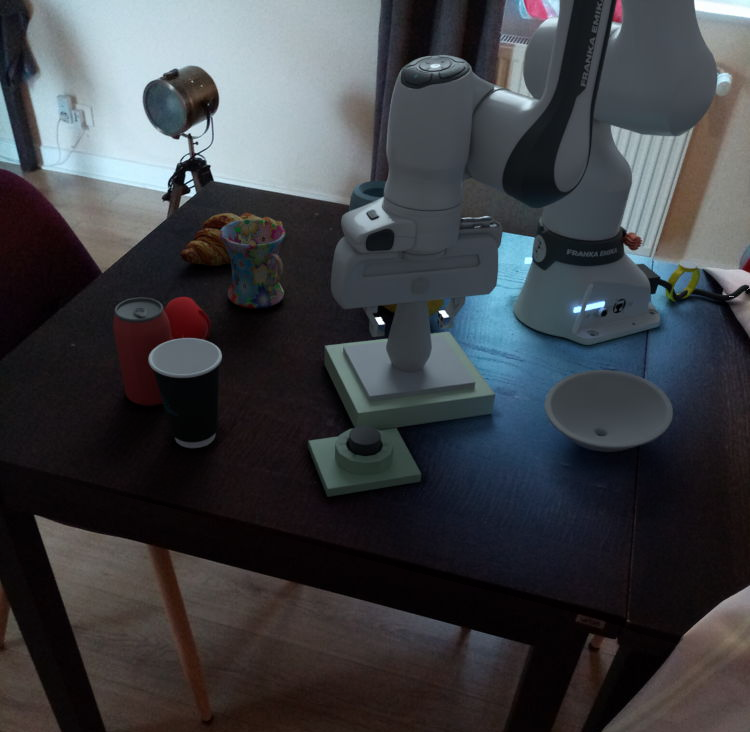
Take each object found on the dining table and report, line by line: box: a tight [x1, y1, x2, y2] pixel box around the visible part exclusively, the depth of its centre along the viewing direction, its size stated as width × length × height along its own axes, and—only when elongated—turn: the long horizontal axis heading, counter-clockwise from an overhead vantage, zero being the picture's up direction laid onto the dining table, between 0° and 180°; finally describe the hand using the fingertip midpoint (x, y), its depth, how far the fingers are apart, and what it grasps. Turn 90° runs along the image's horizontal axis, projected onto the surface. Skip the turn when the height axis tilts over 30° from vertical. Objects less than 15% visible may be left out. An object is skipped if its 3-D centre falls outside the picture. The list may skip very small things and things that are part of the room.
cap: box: [163, 296, 211, 341], centre depth 107 cm, size 8×6×6 cm
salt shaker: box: [386, 278, 432, 372], centre depth 96 cm, size 6×6×13 cm
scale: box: [324, 331, 496, 430], centre depth 102 cm, size 18×16×4 cm
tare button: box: [349, 426, 381, 456], centre depth 89 cm, size 4×4×2 cm
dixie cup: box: [148, 338, 223, 449], centre depth 90 cm, size 8×8×11 cm
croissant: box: [180, 212, 284, 267], centre depth 130 cm, size 21×10×8 cm, turn 139°
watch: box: [664, 260, 701, 303], centre depth 125 cm, size 6×3×6 cm, turn 120°
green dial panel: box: [307, 427, 422, 498], centre depth 90 cm, size 11×9×3 cm
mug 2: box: [348, 180, 387, 212], centre depth 131 cm, size 15×11×10 cm
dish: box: [544, 369, 674, 453], centre depth 95 cm, size 18×14×5 cm
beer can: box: [112, 297, 172, 407], centre depth 95 cm, size 7×7×12 cm
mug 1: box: [220, 219, 286, 310], centre depth 115 cm, size 12×9×11 cm
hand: (411, 330), depth 98 cm, fingers open, 8 cm apart
